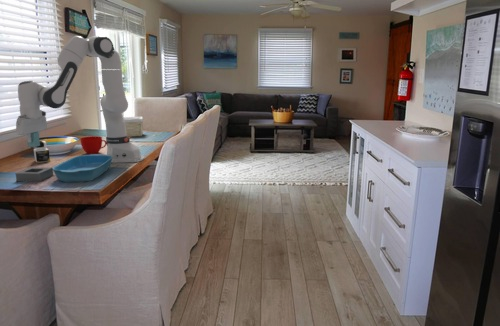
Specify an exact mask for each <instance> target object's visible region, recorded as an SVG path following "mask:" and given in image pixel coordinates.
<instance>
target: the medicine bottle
mask: <svg viewBox="0 0 500 326" xmlns="http://www.w3.org/2000/svg"><path fill="white" fill-rule="evenodd" d="M33 154H34V155H33V156H34V161H35V162H36V163H37V164H41V163H47V162H50V161H51V158H50V156H51V155H50V150H49V148H47V141H45V140H40V146H37V147H34V148H33Z"/></svg>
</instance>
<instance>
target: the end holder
mask: <svg viewBox="0 0 500 326" xmlns="http://www.w3.org/2000/svg"><path fill="white" fill-rule="evenodd" d="M53 176H54V171H53V167H36V166H35V167H31V166H30V167H28V168H25V169H23V170H20V171H18V172H16V173H15V178H16V182H42V181H45V180H47V179H48V178H50V177H53Z"/></svg>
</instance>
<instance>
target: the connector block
mask: <svg viewBox="0 0 500 326" xmlns="http://www.w3.org/2000/svg"><path fill="white" fill-rule="evenodd" d="M30 136H31V138H32V139H33V142H28V141H27V140H26V144H27V147H28V148H35V147H37V146H40V141H41V140H40V135H39V132H34V133H31V135H30Z"/></svg>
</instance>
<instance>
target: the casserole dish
mask: <svg viewBox="0 0 500 326" xmlns="http://www.w3.org/2000/svg"><path fill="white" fill-rule="evenodd" d="M111 161H112V156H109V155H107V154H101V153H100V154H98V153H97V154H83V155H76V156H74V157H70V158H68V159H66V160H65V161H63V162H61V163H59V164H56V165H54V166H53V167H52V168H53V174H55V177H56V178H57V179H58V180H59V181H61V182H71V183H72V182H73V183H74V182H78V183H79V182H90V181H93V180H94V179H97V178H99V177H100V176H101V175H102V174H104V173H105V172H106V171H107V170H109V169H110V167H111V165H112V163H111Z"/></svg>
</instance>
